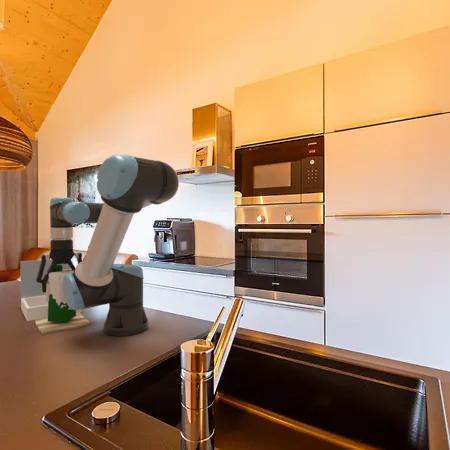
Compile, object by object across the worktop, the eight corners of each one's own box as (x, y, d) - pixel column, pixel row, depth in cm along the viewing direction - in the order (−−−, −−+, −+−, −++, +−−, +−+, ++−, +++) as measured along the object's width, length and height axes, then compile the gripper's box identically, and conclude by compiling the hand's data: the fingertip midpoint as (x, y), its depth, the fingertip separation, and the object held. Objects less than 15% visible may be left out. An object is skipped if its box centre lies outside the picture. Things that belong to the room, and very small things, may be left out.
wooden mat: (90, 325, 118) (90, 322, 118) (41, 334, 109) (41, 331, 109) (79, 315, 131) (79, 312, 131) (34, 322, 121) (34, 320, 121)
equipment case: (82, 312, 135) (81, 262, 135) (27, 321, 123) (26, 266, 123) (67, 299, 157) (67, 256, 157) (19, 306, 145) (18, 260, 144)
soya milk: (56, 315, 124) (56, 264, 124) (79, 315, 124) (79, 264, 124) (43, 322, 115) (43, 267, 115) (68, 322, 115) (68, 267, 115)
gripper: (89, 237, 129) (90, 293, 129) (26, 239, 116) (26, 301, 116) (95, 238, 123) (95, 296, 123) (28, 240, 110) (29, 305, 110)
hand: (62, 298), depth 120 cm, fingers closed on soya milk, 9 cm apart
